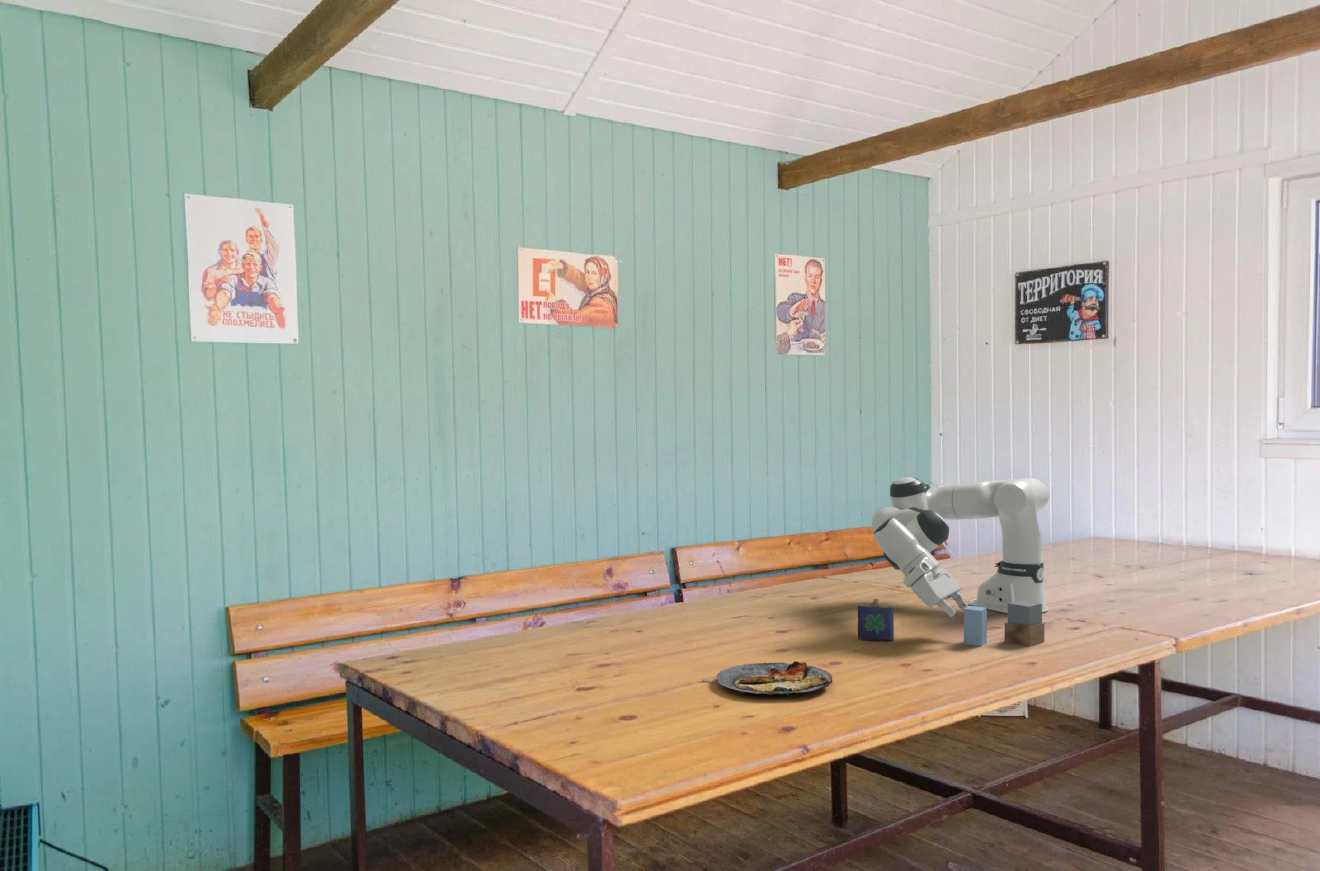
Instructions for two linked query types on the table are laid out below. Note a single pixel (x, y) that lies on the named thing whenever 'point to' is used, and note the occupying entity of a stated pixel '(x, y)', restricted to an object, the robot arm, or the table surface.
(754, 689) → the food plate
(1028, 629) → the tower base
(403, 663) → the table surface
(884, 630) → the flask
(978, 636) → the pillar
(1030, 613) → the tower middle
